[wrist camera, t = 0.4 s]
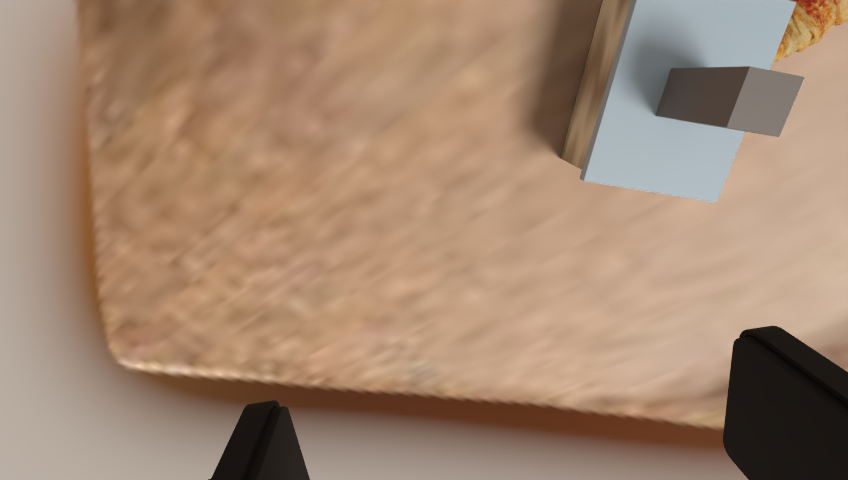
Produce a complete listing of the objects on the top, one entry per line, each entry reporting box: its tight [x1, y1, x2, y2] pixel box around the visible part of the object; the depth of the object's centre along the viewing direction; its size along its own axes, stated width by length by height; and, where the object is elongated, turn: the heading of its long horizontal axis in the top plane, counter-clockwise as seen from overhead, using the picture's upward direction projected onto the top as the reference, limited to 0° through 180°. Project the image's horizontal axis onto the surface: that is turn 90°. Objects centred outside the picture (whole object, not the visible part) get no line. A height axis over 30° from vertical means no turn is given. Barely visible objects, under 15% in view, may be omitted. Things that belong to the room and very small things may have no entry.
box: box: [560, 0, 631, 169], centre depth 33 cm, size 12×9×6 cm
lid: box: [580, 0, 804, 203], centre depth 27 cm, size 13×10×8 cm
